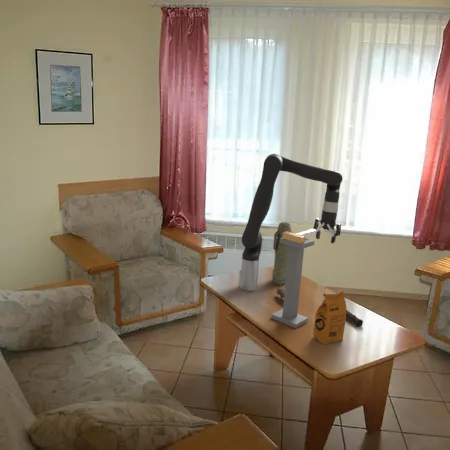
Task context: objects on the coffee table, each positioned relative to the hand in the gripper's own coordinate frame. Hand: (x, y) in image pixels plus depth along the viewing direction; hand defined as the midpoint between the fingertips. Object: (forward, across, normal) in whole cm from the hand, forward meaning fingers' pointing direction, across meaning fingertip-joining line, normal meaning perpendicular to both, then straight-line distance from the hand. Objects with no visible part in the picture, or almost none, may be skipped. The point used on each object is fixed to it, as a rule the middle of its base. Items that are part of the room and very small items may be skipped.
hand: (325, 241), depth 238 cm
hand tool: (+33, +22, -8) cm, 40 cm away
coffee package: (+34, +26, -32) cm, 54 cm away
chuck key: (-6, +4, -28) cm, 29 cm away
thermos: (+33, -28, +6) cm, 43 cm away
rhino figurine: (+34, -12, -13) cm, 38 cm away
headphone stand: (+34, +4, -30) cm, 46 cm away
